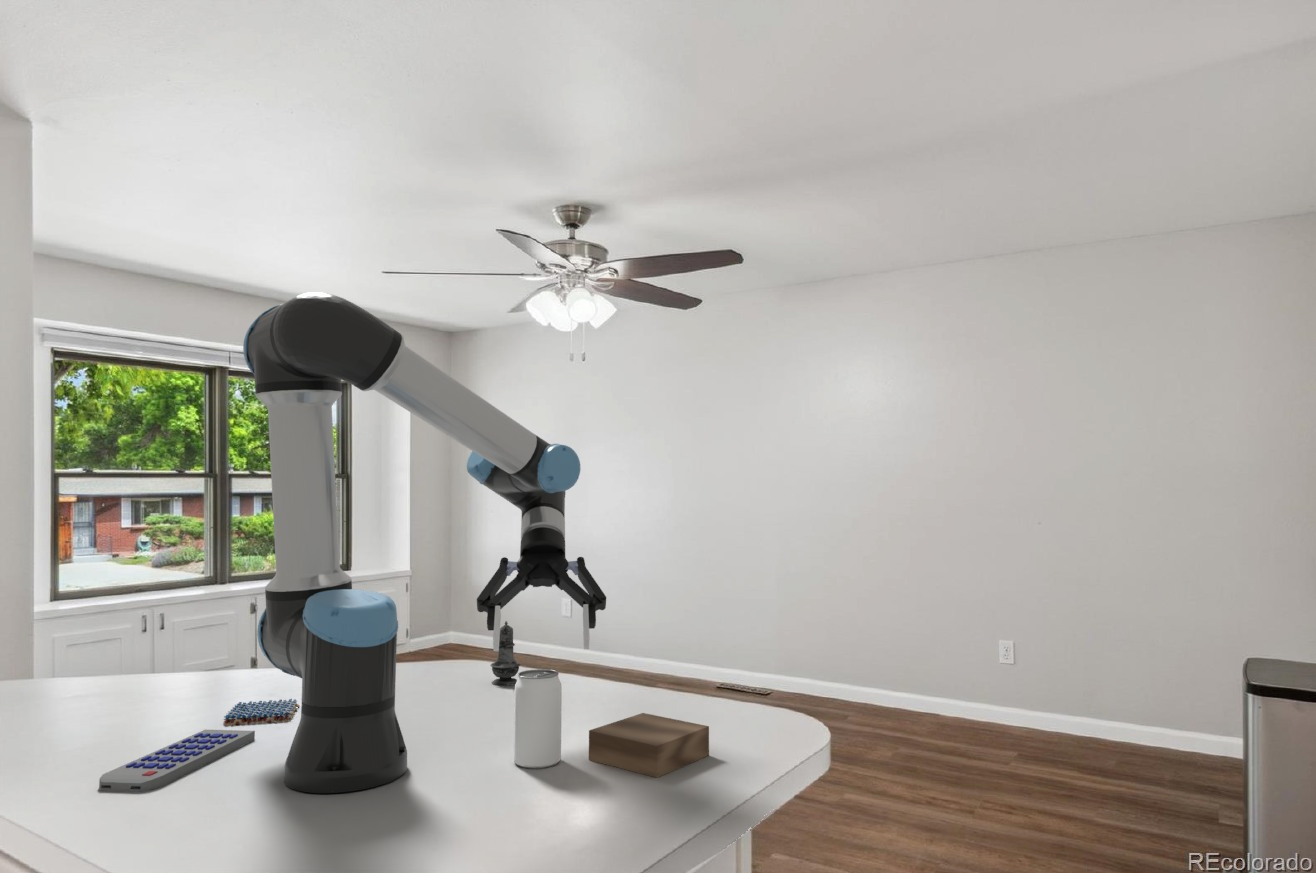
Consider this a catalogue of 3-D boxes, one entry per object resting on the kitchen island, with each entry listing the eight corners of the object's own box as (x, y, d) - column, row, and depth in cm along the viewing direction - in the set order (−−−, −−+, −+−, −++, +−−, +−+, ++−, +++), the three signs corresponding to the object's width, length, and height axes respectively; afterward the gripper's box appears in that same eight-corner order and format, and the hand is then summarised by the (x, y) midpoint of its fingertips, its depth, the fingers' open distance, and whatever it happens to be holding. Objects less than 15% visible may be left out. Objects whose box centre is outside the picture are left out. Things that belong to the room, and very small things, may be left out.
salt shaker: (523, 679, 167) (524, 619, 167) (515, 686, 161) (516, 623, 162) (495, 679, 167) (496, 618, 168) (486, 685, 161) (487, 622, 162)
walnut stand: (657, 777, 108) (657, 746, 108) (588, 759, 115) (589, 730, 116) (709, 755, 118) (708, 726, 118) (642, 740, 125) (642, 712, 125)
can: (503, 765, 113) (505, 675, 114) (532, 752, 119) (533, 667, 120) (542, 772, 110) (543, 680, 111) (570, 758, 116) (570, 671, 117)
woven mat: (219, 729, 132) (220, 716, 132) (234, 713, 142) (235, 701, 143) (290, 725, 135) (291, 712, 135) (300, 709, 145) (300, 697, 145)
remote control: (254, 744, 125) (255, 728, 125) (149, 795, 103) (150, 777, 103) (204, 742, 126) (205, 727, 126) (89, 793, 103) (91, 775, 104)
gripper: (614, 554, 146) (622, 657, 130) (469, 555, 142) (458, 661, 126) (617, 524, 141) (625, 628, 125) (467, 525, 137) (455, 631, 122)
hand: (541, 645), depth 126 cm, fingers open, 13 cm apart
